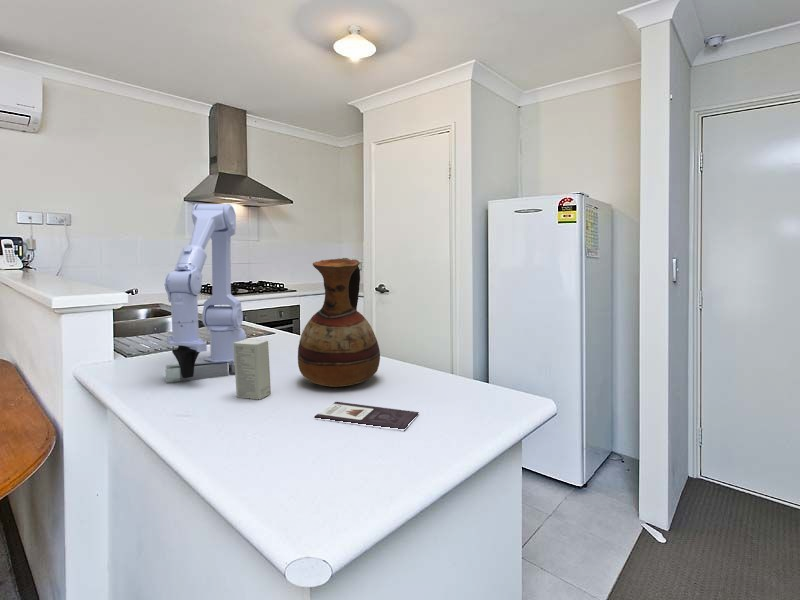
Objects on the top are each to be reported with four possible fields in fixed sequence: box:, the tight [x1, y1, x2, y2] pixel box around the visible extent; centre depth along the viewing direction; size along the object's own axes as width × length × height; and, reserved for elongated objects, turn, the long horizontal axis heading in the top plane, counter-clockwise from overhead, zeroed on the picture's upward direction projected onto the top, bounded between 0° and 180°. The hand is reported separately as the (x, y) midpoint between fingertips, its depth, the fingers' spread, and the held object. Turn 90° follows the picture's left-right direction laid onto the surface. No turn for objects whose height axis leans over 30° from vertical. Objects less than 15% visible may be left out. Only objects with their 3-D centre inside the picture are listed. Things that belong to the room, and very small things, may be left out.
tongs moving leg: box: [164, 362, 229, 384], centre depth 115 cm, size 14×2×3 cm, turn 118°
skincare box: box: [233, 338, 272, 400], centre depth 101 cm, size 6×4×12 cm
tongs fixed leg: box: [165, 360, 235, 376], centre depth 117 cm, size 18×3×3 cm, turn 110°
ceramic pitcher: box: [297, 257, 381, 388], centre depth 112 cm, size 20×20×30 cm
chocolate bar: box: [313, 401, 420, 429], centre depth 90 cm, size 9×1×18 cm
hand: (187, 377), depth 112 cm, fingers closed, pressing on tongs moving leg
